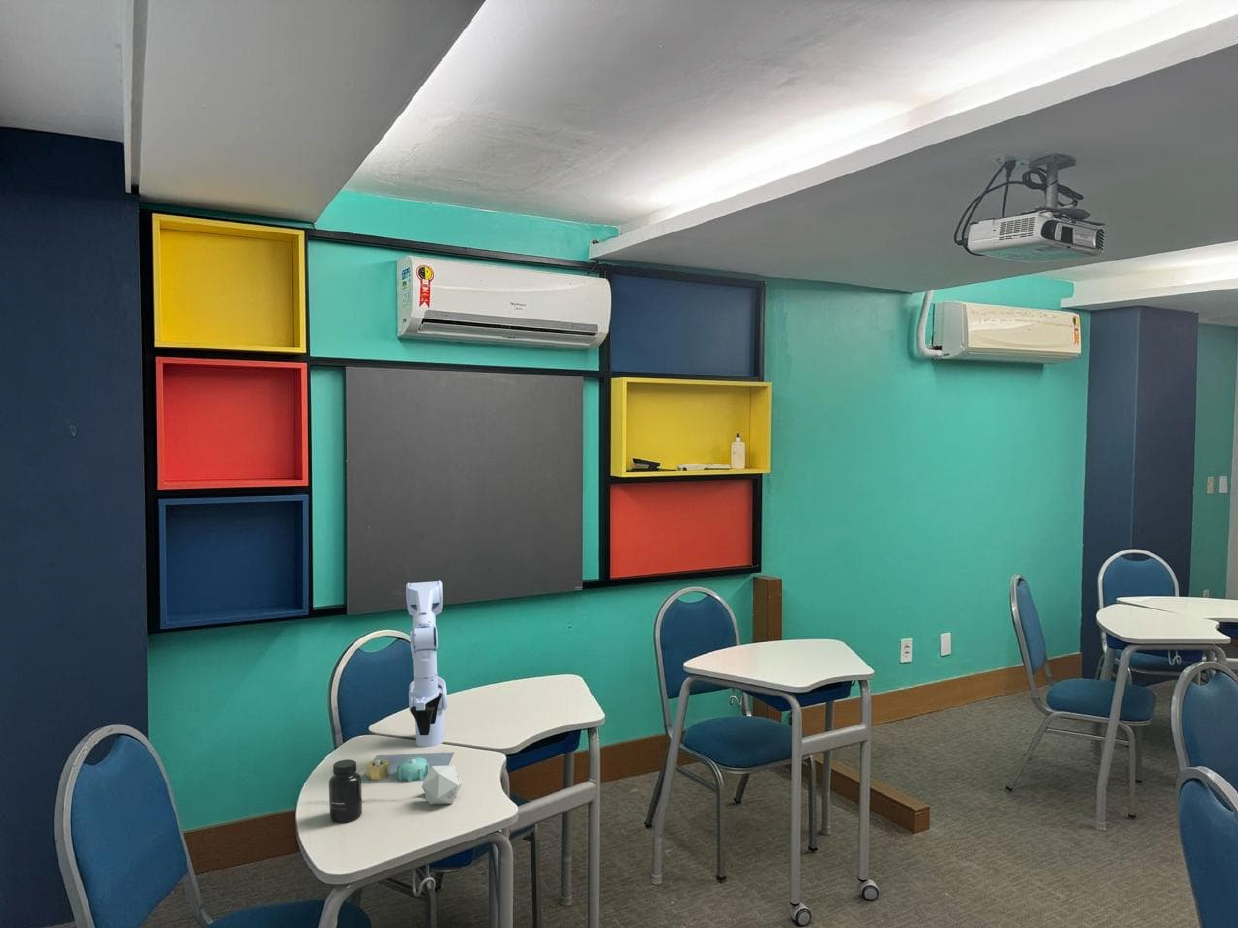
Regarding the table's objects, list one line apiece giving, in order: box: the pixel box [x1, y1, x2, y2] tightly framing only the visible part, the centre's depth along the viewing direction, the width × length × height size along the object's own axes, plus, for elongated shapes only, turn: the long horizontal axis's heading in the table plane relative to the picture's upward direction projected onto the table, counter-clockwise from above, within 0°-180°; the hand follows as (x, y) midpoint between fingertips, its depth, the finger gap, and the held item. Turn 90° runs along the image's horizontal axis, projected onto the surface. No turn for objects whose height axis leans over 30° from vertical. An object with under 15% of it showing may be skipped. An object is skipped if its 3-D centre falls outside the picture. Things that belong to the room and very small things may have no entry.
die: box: [421, 764, 463, 806], centre depth 190 cm, size 8×9×10 cm
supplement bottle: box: [328, 759, 363, 824], centre depth 183 cm, size 7×7×12 cm
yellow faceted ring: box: [365, 759, 390, 781], centre depth 202 cm, size 5×5×3 cm
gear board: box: [361, 751, 455, 784], centre depth 207 cm, size 17×20×5 cm
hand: (427, 729), depth 208 cm, fingers open, 7 cm apart
